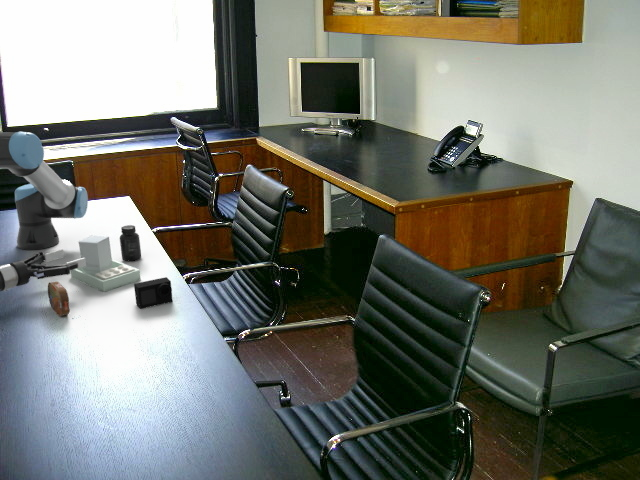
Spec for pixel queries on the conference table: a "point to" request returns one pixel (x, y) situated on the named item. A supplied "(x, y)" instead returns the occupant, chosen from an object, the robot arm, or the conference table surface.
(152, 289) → the digital camera
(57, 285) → the tin
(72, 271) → the pale green tray
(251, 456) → the conference table surface
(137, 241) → the supplement bottle
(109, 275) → the egg carton
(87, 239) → the supplement box
